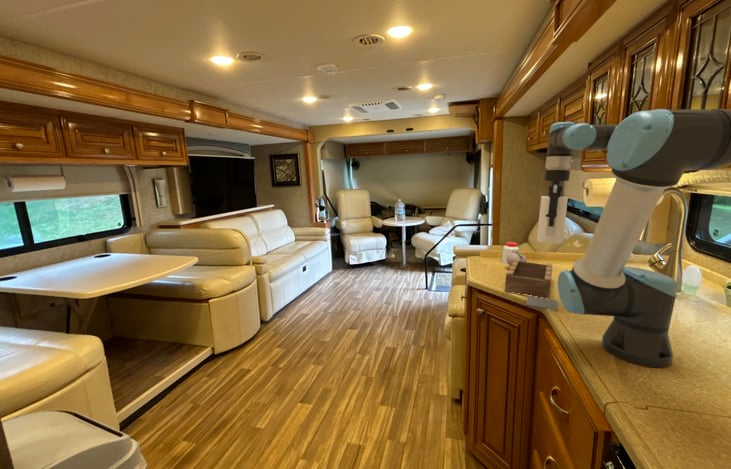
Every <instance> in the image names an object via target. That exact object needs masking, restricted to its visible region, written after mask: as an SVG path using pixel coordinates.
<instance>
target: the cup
mask: <svg viewBox="0 0 731 469" xmlns="http://www.w3.org/2000/svg"><path fill="white" fill-rule="evenodd" d="M540 198H541V199H540V204H539V206H540V207H539V215H538V223H537V233H536V234H537V235H536V241H537V242H540V243H546V244H562V243H563V242H564V241H563V240H564V234H565V226H566V225H565V223H566V216H567V210H568V209H567V208H568V200H569V198H568V197H567V196H561V195H560V198H558V205H557V216H556V226H555V234H554V236H548V235H546V226H547V217H546V214H547V215H548V211H549V203H550V197H549V195H542V196H541V197H540Z"/></svg>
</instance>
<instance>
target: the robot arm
mask: <svg viewBox="0 0 731 469" xmlns="http://www.w3.org/2000/svg"><path fill="white" fill-rule="evenodd" d="M592 150H593V151H599V150H600V151H601V150H603V151H605V150H606V151H607V153H606V161H607V164H608V165H609V166H610V168H611V170H610V172H611V175H613V177H614V178H615V181H614V183H613V187H612V189H611V191H610V194H609V196H608V199H607V200H606V204H605V205H604V208H603V209H602V212H601V215H600V218H599V220H598V222H597V225H596V228H595V229H594V231H593V235H592V237H591V239H590V241H589V244H588V247H587V249H586V251H585V253H584V256H583V257H582V258H580V259H577V260H576V261H575V262H573V266H572V267H571V268H572V269H571V270H568V269H566V270H562V271H560V273H559V274H558V279H557V290H558V291H557V292H558V297H559V300H560V302H561V303H560V304H561V305H562V306H563V309H565V310H566V311H567V312H569V313H571V314H576V315H577V314H578V315H582V316H583V315H584V316H585V315H587V316H588V315H589V316H603V317H604V316H605V317H613V319H612V320H611V322H610V324H609V326H608V327H607V328H606V330H605V331H604V333H603V335H602V337H601V338H602V339H601V346H602V347H603V348H604V349H605V351H607V352H608V353H610V354H612V355H613V356H614V357H617V358H619V359H621V360H623V361H626V362H630V363H632V364H636V365H639V366H644V367H650V368H666V367H669V366H670V365H671V364H672V361H673V356H674V353H673V350H672V344H671V341H670V336H669V335H670V334H669V332H670V330H669V329H670V326H671V321H672V318H673V317H672V316H673V311H674V306H675V301H676V298H677V297H678V296H677V295H678V294H677V292H678V291H677V290H678V283H677V281H676V280H675V279H673V278H672V277H670V276H668V275H665V274H663V273H660V272H656V271H653V270H650V269H644V268H640V267H636V266H626V265H627V263H628V261H629V259H630V257H631V255H632V253H633V251H634V250H635V248H636V245H637V243H638V241H639V239H640V237H641V235H642V233H643V232H644V230H645V228H646V226H647V224H648V222H649V220H650V218H651V217H652V214H653V212H654V210H655V208H656V207H657V204H658V202H659V200H660V199H661V196H662V195H663V193H664V191H665V190H666V189H669V188H673V187H675V186H677V185H678V183H680V180H681V178H682V177H683V174H684V173H685V171H711V170H712V171H713V170H718V169H721V168H722V169H723V168H725V167H728V166H730V165H731V109H726V108H711V109H709V108H706V109H693V108H692V109H691V108H690V109H682V108H681V109H664V108H657V109H651V110H642V111H641V110H639V111H636V112H634V113H632V114H630V115H629V116H627V117H626V118H624V119H623V120H622V121H621V122H620V123H619V124H589V123H586V122H583V123H574V122H572V121H563V122H562V121H561V122H554V123H552V124H551V125H550V128H549V133H548V142H547V151H546V152H547V153H546V158H545V159H546V160H545V169H546V170H545V171H544V181H548V182H552V183H551V185H548V196H549V197H550V203H549V211H548V215H547V214H546V217H547V226H546V235H548V236H554V234H555V226H556V216H557V205H558V198H560V196H561V193H562V190H563V186H562V185H561V184H560V183H561V182H568V181H570V174H571V170H570V168H571V166H572V165H571V163H574V160H573V159H572V157H573V151H592ZM560 185H561V186H560Z"/></svg>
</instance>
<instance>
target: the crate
mask: <svg viewBox="0 0 731 469" xmlns="http://www.w3.org/2000/svg"><path fill="white" fill-rule="evenodd" d="M552 274H553V263H549V262H547V263H546V264H542V263H535V262H529V261H526V262H522V261H519V259H514V261H513V263H512V265H511V266H510V267H509V269H508V271H507V273H506V275H505V283H504V292H505V293H510V292H514V293H513V294H515V293H520V294H519V295H521V294H527V295H532V296H537V297H543V298H548V299H550V292H551V285H552V284H551V282H552V276H553V275H552Z"/></svg>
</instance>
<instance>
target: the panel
mask: <svg viewBox="0 0 731 469" xmlns="http://www.w3.org/2000/svg"><path fill="white" fill-rule="evenodd" d="M558 302H559V300H556V299H551V298H549V299H546V298H541V297H535V296H530V295H529V296H527V300H526V304H525V306H526V307H530V308H531V307H532V308H536V309H543V310H546V309H551V310H555V311H554V312H556V311H557V312H558ZM551 310H550V311H551Z"/></svg>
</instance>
